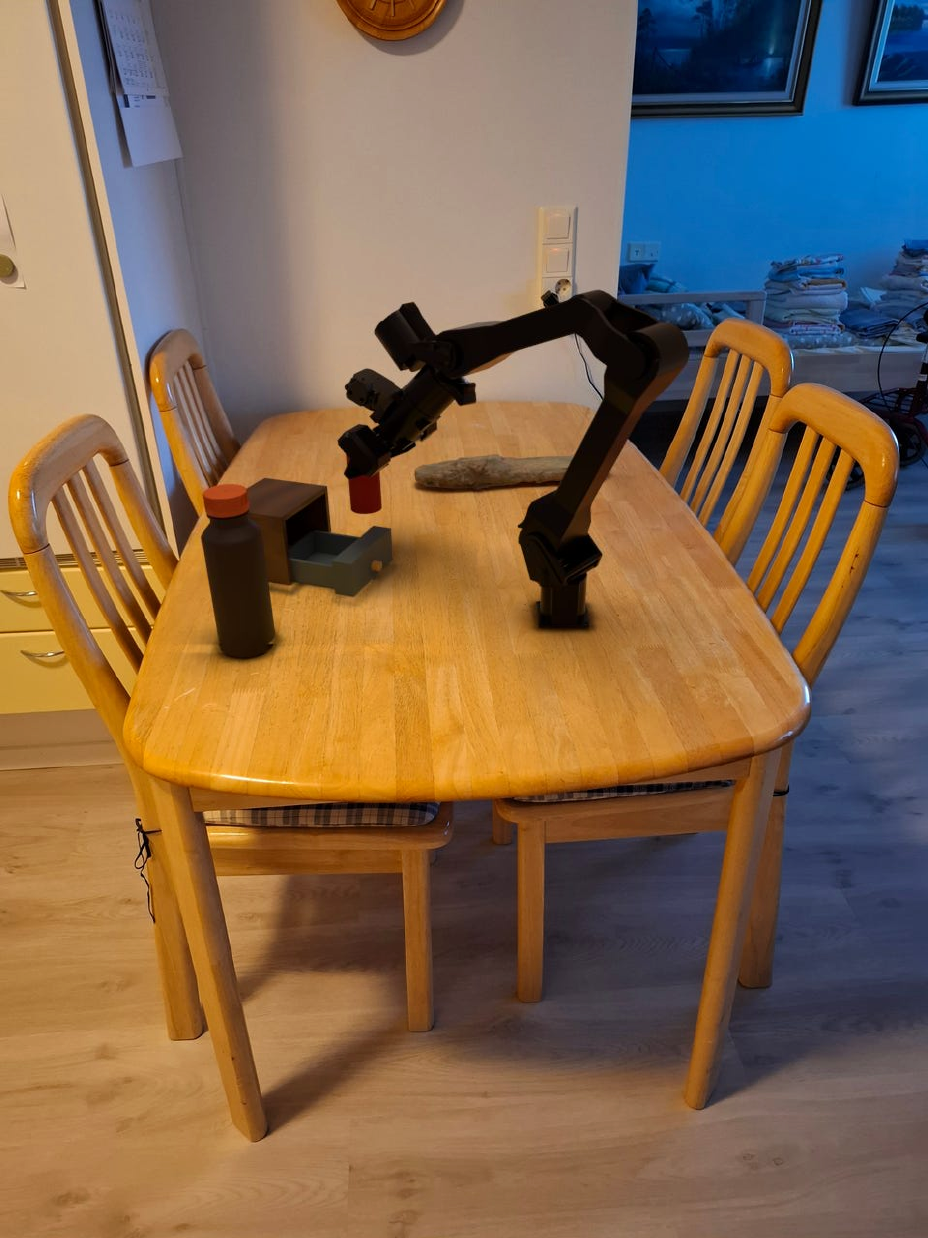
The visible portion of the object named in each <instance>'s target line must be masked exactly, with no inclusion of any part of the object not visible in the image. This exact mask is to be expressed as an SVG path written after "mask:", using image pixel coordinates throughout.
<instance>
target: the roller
mask: <svg viewBox="0 0 928 1238" xmlns="http://www.w3.org/2000/svg"><path fill="white" fill-rule="evenodd" d="M345 455H346V456H345V459H346V466H347V465H348V463H349V461H350V458H349V457H348V455H347V454H346V453H345ZM347 481H348V483H347V484H348V494H349V506H350V511H351V512H352V513H354V514H358V515H370V514H374V513H375V514H376V513H378V512H379V511H381V510H382V508H383V505H382V489H381V488H382V487H381V475H380V471H379V472H377V473H376V474H374V475H373V476H372V477H368V476H365V475H362V476H358V477H355V478H352V479H347Z"/></svg>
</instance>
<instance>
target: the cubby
mask: <svg viewBox="0 0 928 1238" xmlns="http://www.w3.org/2000/svg"><path fill="white" fill-rule="evenodd" d="M246 488H247V492H248V500H249V506H250V507H249V510H250V511H249V514H248V518H249V519H250V520H252V521H253V522H254V523H256V524H257V525H258V526H259V528H260V529H261V532H262V539H263V547H264V554H265V561H266V569H267V576H268V583H273V584H278V585H285V586H292V584H294V582H293V581H292V572H291V564H290V556H289V547H290V546H291V545H293V544H294V543H295V542H297V541H298V540H299V539H301V538H302V537H303V536H305V535H306V534H307V533H309V532H310V531H313V532H314V531H315V530H318V531H324V532H331V533H332V526H331V524H332V523H331V512H330V504H329V503H330V501H329V493H328V486H327V485H323V484H315V483H309V482H308V483H307V482H301V481H300V482H298V481H292V480H284V479H277V478H271V477H270V478H269V477H263V478H262V479H260V480H258V481H256V482H255V483H254V484H251V485H250V486H248V487H246ZM314 542H315V539H314ZM315 551H316V548H315Z"/></svg>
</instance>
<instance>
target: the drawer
mask: <svg viewBox="0 0 928 1238" xmlns="http://www.w3.org/2000/svg"><path fill="white" fill-rule="evenodd" d="M314 539H315V542H314ZM288 547H289V556H290V564H291V572H292V581H293V583H297V584H301V585H302V584H303V585H309V586H314V587H318V588H319V587H320V588H325V589H331V590H334V595H341V596H347V597H352V598H355V596H357V594H358V593H360V592H361V591H362V590H363V589H364V588H365V587H366V586H367V585H368V584H369V583H370V582H371V581H372V580H373V579H374V578H376V576H377V575H379V574H380V573H381V572H382V571H383V570H384V569H386V568H387V566H388V565H389V564H390V563H391V562H392V561H394V554H393V553H394V552H393V537H392V528H391V527H384V526H377V525H372V526H371V527H370V528H369V529H368V530H367V531H365V532H364V533H363V534H362V535H360V536H357V535H350V534H344V533H339V532H338V533H337V532H332V531H331V532H324V531H318V530H315V531H314V532H313V531H310V532H309V533H307V534H306V535H305V536H303V537H302V538H301V539H299V540H298V541H297V542H295V543H294V544H293V545H291V546H288ZM315 548H316V550H315Z"/></svg>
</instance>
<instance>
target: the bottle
mask: <svg viewBox="0 0 928 1238" xmlns="http://www.w3.org/2000/svg"><path fill="white" fill-rule="evenodd" d="M247 488H248V487H245V486H244V485H241V484H235V483H225V484H224V483H223V484H218V485H213V486H211V487H208V488H206V489H205V490H204V491H203V492H202V501H203V506H204V507H203V508H204V512H205V516H206V518H207V519H208V520H209V523H208V524H207V525H206V527H205V528H204V530H203V531H202V533H201V536H200V541H201V545H202V552H203V557H204V558H203V559H204V564H205V570H206V576H207V581H208V586H209V593H210V599H211V604H212V610H213V616H214V622H215V627H216V633H217V639H218V640H217V641H218V642H219V648H220V650H221V652H223V653H224V654H225V655H227V656H229V657H232V658H238V659H239V658H240V659H243V658H244V659H245V658H253V657H258V656H261V655H263V654H265V653H266V652H269V651H270V650H271V649H272V648H273V646H275V643H271V642H273V640H274V639H275V637H276V628H275V621H274V614H273V607H272V598H271V591H270V585H269V583H270V582H268V576H267V569H266V561H265V554H264V547H263V539H262V532H261V529H260V528H259V526H258V525H257V524H256V523H254V522H253V521H252V520H250V519H249V518H248V514H249V511H250V510H249V507H250V506H249V500H248V492H247Z"/></svg>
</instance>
